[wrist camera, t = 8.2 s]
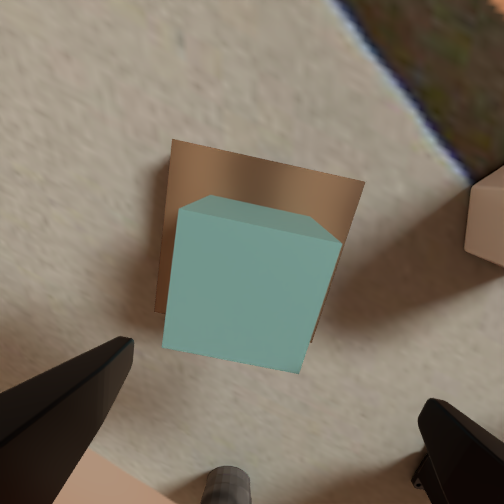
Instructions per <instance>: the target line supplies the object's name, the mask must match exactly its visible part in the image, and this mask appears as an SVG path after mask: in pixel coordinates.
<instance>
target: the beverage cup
mask: <svg viewBox="0 0 504 504" xmlns="http://www.w3.org/2000/svg"><path fill="white" fill-rule="evenodd" d="M201 504H252V502H251V493H250V479H249V477H248V475H247V474H246V473H245V472H244V471H243V470H241V469H239V468H236V467H231V466H223V467H219V468H216V469H214V470H212V472H211V473H210V474H209V475H208V478H207V484H206V487H205V490H204V493H203V496H202V500H201Z"/></svg>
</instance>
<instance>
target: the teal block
mask: <svg viewBox="0 0 504 504" xmlns="http://www.w3.org/2000/svg"><path fill="white" fill-rule="evenodd" d="M341 247H342V243H341V242H340V241H339V240H337V239H336V238H335V237H334V236H333V235H332V234H330V233H329V232H328V231H327V230H326V229H324V228H323V227H322V226H321V225H320V224H319V223H317V222H316V221H315V220H314V219H313V218H311V217H310V216H305V215H301V214H296V213H292V212H287V211H282V210H278V209H273V208H269V207H264V206H260V205H255V204H250V203H246V202H241V201H237V200H232V199H227V198H223V197H218V196H214V195H209V196H206V197H204V198H202V199H200V200H197V201H195V202H193V203H190V204H188V205H186V206H183V207H181V208H179V211H178V219H177V227H176V235H175V244H174V252H173V260H172V268H171V276H170V284H169V292H168V301H167V309H166V317H165V325H164V333H163V341H162V348H167V349H172V350H178V351H183V352H188V353H193V354H198V355H203V356H208V357H214V358H219V359H224V360H229V361H234V362H239V363H244V364H250V365H255V366H260V367H265V368H270V369H275V370H280V371H286V372H291V373H296V374H299V372H300V369H301V366H302V363H303V360H304V357H305V354H306V351H307V348H308V345H309V342H310V339H311V336H312V333H313V330H314V327H315V324H316V321H317V318H318V315H319V312H320V309H321V306H322V303H323V300H324V297H325V294H326V291H327V288H328V285H329V282H330V279H331V276H332V274H333V271H334V268H335V265H336V262H337V259H338V256H339V253H340V250H341Z"/></svg>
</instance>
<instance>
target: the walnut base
mask: <svg viewBox="0 0 504 504" xmlns="http://www.w3.org/2000/svg"><path fill="white" fill-rule="evenodd" d="M364 185H365V182H364V181H359V180H355V179H350V178H346V177H341V176H337V175H332V174H328V173H323V172H319V171H314V170H310V169H305V168H301V167H296V166H292V165H287V164H283V163H278V162H274V161H269V160H265V159H260V158H256V157H251V156H247V155H242V154H238V153H233V152H229V151H224V150H220V149H215V148H211V147H206V146H202V145H197V144H193V143H188V142H184V141H179V140H175V139H172V146H171V156H170V166H169V175H168V185H167V194H166V204H165V214H164V223H163V233H162V242H161V252H160V262H159V271H158V281H157V291H156V300H155V310H154V312H158V313H163V314H166V309H167V301H168V292H169V284H170V276H171V268H172V260H173V252H174V244H175V235H176V227H177V219H178V211H179V208H181V207H183V206H186V205H188V204H190V203H193V202H195V201H197V200H200V199H202V198H204V197H206V196H209V195H214V196H218V197H223V198H227V199H232V200H237V201H241V202H246V203H250V204H255V205H260V206H264V207H269V208H273V209H278V210H282V211H287V212H292V213H296V214H301V215H305V216H310V217H311V218H313V219H314V220H315V221H316V222H317V223H319V224H320V225H321V226H322V227H323V228H324V229H326V230H327V231H328V232H329V233H330V234H332V235H333V236H334V237H335V238H336V239H337V240H339V241H340V242H341V243H342V247H341V250H340V253H339V256H338V259H337V262H336V265H335V268H334V271H333V274H332V276H331V279H330V282H329V285H328V288H327V291H326V294H325V297H324V300H323V303H322V306H321V309H320V312H319V315H318V318H317V321H316V324H315V327H314V330H313V333H312V336H311V339H310V343H312V340H313V337H314V334H315V331H316V328H317V325H318V322H319V319H320V316H321V313H322V310H323V307H324V304H325V301H326V298H327V295H328V292H329V289H330V286H331V283H332V280H333V277H334V274H335V271H336V268H337V265H338V262H339V259H340V256H341V253H342V250H343V247H344V244H345V241H346V238H347V235H348V232H349V229H350V226H351V223H352V220H353V217H354V214H355V211H356V208H357V205H358V202H359V200H360V197H361V194H362V191H363V188H364Z"/></svg>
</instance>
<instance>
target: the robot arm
mask: <svg viewBox="0 0 504 504" xmlns="http://www.w3.org/2000/svg"><path fill="white" fill-rule="evenodd" d="M133 352H134V340H133V339H132V338H128V337H123V336H119V337H116V338H114V339H112V340H110V341H108V342H106V343H104V344H102V345H100V346H98V347H96V348H93V349H91V350H89V351H87V352H85V353H83V354H81V355H79V356H77V357H75V358H73V359H71V360H69V361H66V362H64V363H62V364H60V365H58V366H56V367H54V368H52V369H50V370H48V371H46V372H44V373H42V374H39V375H37V376H35V377H33V378H31V379H29V380H27V381H25V382H23V383H21V384H19V385H17V386H15V387H12V388H10V389H8V390H6V391H4V392H2V393H0V504H52V503H53V502H54V500H55V498H56V497H57V495H58V494H59V492H60V490H61V489H62V487H63V486H64V484H65V483H66V481H67V479H68V478H69V476H70V475H71V473H72V472H73V470H74V468H75V467H76V465H77V464H78V462H79V461H80V459H81V457H82V456H83V454H84V453H85V451H86V449H87V448H88V446H89V445H90V443H91V442H92V440H93V438H94V437H95V435H96V434H97V432H98V430H99V429H100V427H101V425H102V424H103V422H104V420H105V418H106V416H107V414H108V412H109V410H110V408H111V406H112V404H113V403H114V401H115V399H116V397H117V395H118V393H119V391H120V389H121V387H122V385H123V383H124V381H125V379H126V377H127V375H128V373H129V371H130V369H131V366H132V363H133ZM418 427H419V429H420V432H421V435H422V437H423V440H424V443H425V446H426V448H427V451H428V453H427V455H426V456H425V458H424V460H423V461H422V463H421V465H420V466H419V468H418V470H417V471H416V473H415V475H414V476H413V478H412V480H411V482H412V484H413V486H414V487H415V488H417V489H423V490H425V492H426V494H427V495H428V497H429V499H430V501H431V503H432V504H504V443H503V442H502V441H500V440H499V439H497V438H496V437H495V436H493V435H492V434H491V433H489V432H488V431H486V430H485V429H484V428H482V427H481V426H480V425H478V424H477V423H475V422H474V421H473V420H471V419H470V418H468V417H467V416H466V415H464V414H463V413H462V412H460V411H459V410H457V409H456V408H455V407H453V406H452V405H451V404H449V403H448V402H446V401H444V400H440V399H435V398H430V399H428V400H427V401H426V403H425V405H424V407H423V409H422V411H421V413H420V415H419V417H418Z"/></svg>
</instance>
